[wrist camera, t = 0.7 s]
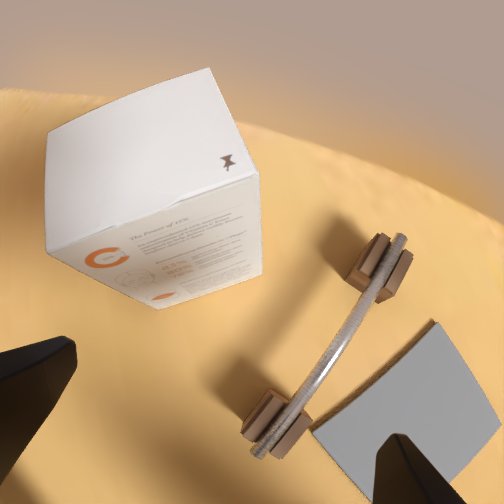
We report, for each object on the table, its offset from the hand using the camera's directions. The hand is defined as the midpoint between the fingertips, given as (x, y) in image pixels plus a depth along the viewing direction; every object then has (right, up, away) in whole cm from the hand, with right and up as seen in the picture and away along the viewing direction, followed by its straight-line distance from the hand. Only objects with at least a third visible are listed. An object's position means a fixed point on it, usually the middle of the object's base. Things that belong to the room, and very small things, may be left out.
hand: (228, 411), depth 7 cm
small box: (-3, +4, +16) cm, 17 cm away
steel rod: (+6, -1, +10) cm, 12 cm away
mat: (+13, -9, +11) cm, 19 cm away
